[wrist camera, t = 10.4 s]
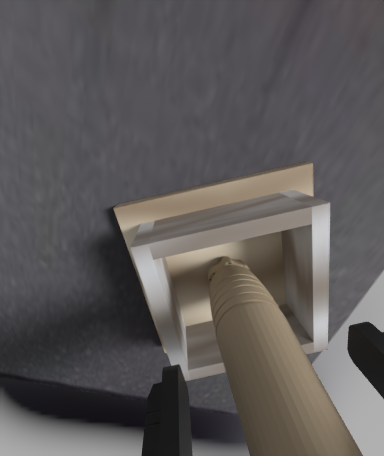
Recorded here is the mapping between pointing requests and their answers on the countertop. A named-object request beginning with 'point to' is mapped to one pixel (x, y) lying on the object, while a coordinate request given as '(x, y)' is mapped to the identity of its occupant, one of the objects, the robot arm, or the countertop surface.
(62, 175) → the countertop surface
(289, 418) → the handle
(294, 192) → the small square bin
